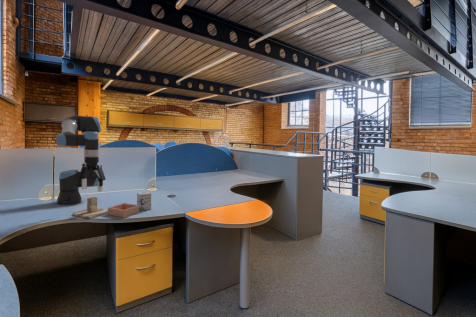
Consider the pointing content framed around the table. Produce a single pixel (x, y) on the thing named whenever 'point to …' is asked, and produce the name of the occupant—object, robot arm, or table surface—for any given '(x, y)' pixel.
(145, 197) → the ink box
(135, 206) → the reddish brown open box
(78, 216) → the mat
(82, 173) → the robot arm
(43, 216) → the table surface
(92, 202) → the light wood slatted piece
